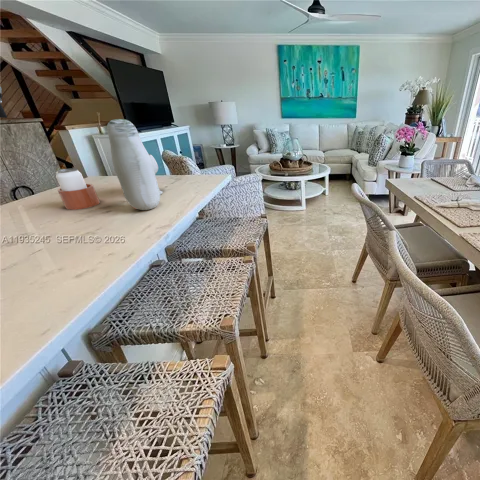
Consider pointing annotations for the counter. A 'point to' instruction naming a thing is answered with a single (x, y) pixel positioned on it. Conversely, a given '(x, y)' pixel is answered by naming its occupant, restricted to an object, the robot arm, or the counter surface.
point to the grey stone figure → (133, 165)
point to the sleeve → (79, 198)
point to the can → (70, 179)
